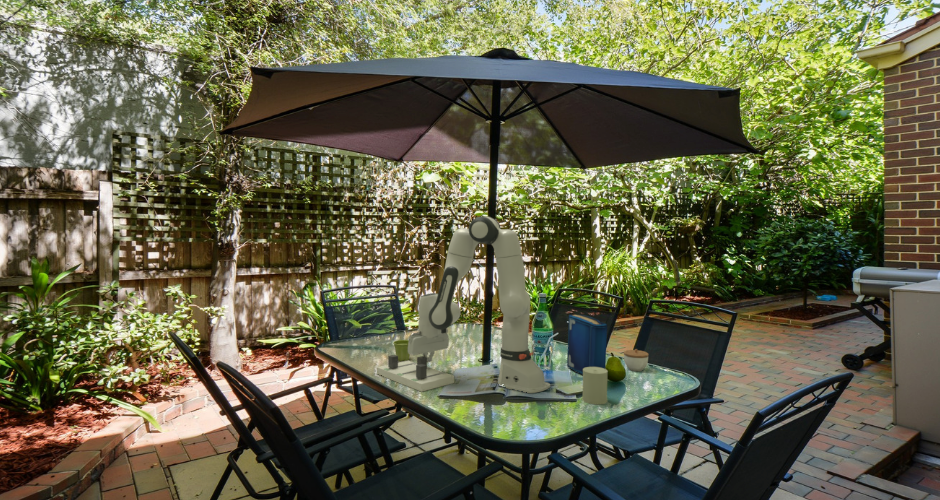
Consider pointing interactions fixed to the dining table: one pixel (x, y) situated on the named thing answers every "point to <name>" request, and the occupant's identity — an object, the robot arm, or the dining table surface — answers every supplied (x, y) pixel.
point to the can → (594, 385)
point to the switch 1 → (393, 361)
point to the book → (586, 343)
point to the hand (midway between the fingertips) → (428, 361)
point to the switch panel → (408, 376)
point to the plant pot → (402, 350)
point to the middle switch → (421, 360)
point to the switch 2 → (421, 371)
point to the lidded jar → (636, 359)
